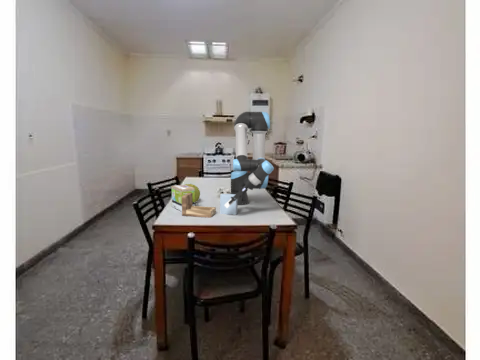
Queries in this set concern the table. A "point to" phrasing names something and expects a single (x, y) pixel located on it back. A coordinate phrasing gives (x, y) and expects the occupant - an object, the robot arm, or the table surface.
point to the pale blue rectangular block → (232, 208)
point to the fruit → (197, 191)
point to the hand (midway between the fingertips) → (227, 204)
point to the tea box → (179, 192)
